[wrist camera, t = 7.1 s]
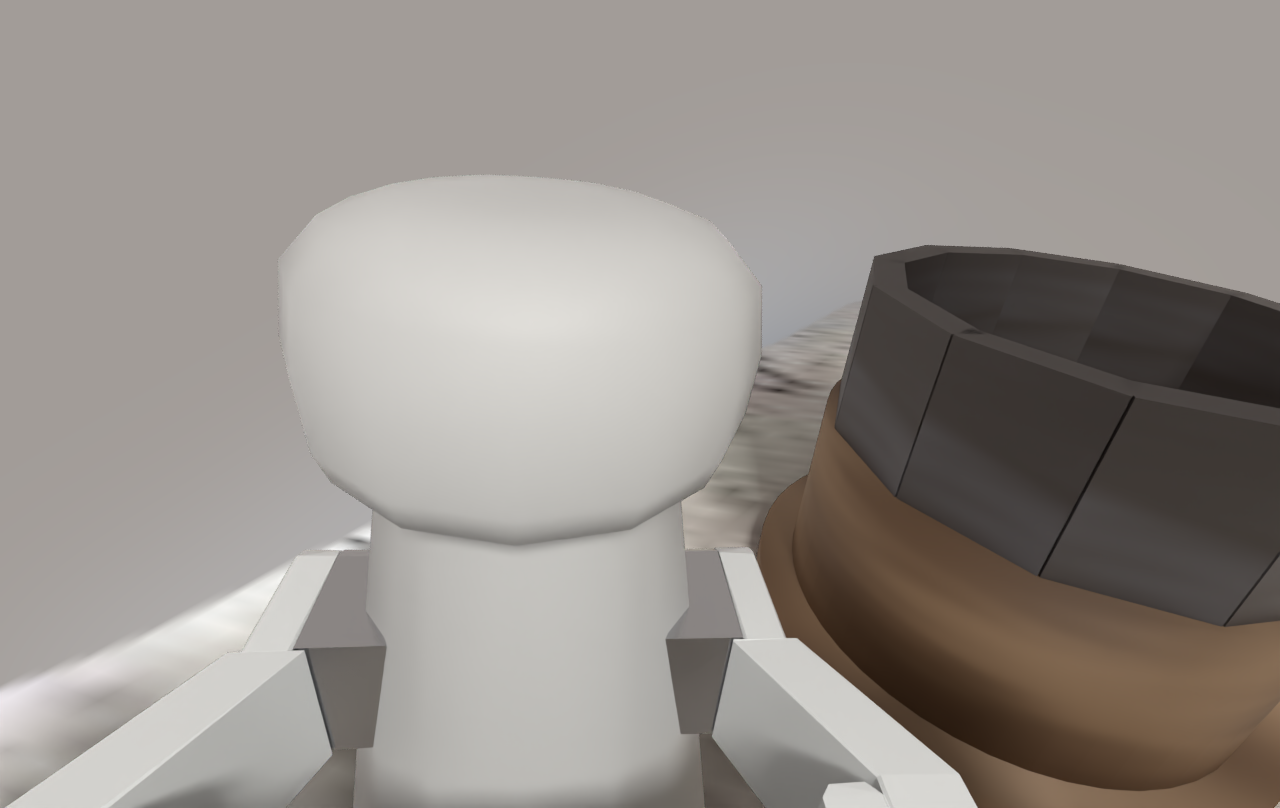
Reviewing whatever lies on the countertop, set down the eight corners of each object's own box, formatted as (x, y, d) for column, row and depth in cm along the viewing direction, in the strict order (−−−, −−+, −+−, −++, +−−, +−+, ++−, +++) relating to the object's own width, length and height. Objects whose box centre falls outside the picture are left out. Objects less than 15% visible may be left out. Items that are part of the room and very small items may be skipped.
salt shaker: (741, 871, 12) (951, 216, 6) (556, 1282, 8) (626, 462, 2) (525, 712, 15) (519, 140, 9) (299, 955, 11) (-33, 166, 4)
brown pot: (889, 444, 28) (962, 222, 23) (1301, 649, 19) (1561, 354, 14) (665, 574, 19) (706, 268, 15) (1212, 1055, 10) (1781, 669, 6)
